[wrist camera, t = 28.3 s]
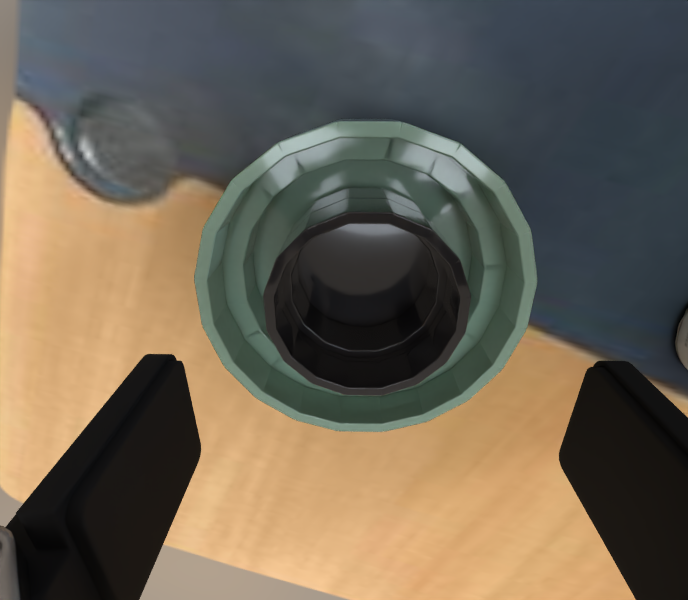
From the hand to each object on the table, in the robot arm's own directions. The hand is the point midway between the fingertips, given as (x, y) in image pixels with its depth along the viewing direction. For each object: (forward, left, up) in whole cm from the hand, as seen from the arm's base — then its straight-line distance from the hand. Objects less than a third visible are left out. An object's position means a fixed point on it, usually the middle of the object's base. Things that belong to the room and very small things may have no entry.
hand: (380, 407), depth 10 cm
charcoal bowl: (0, 0, -10) cm, 10 cm away
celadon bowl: (0, 0, -11) cm, 11 cm away
